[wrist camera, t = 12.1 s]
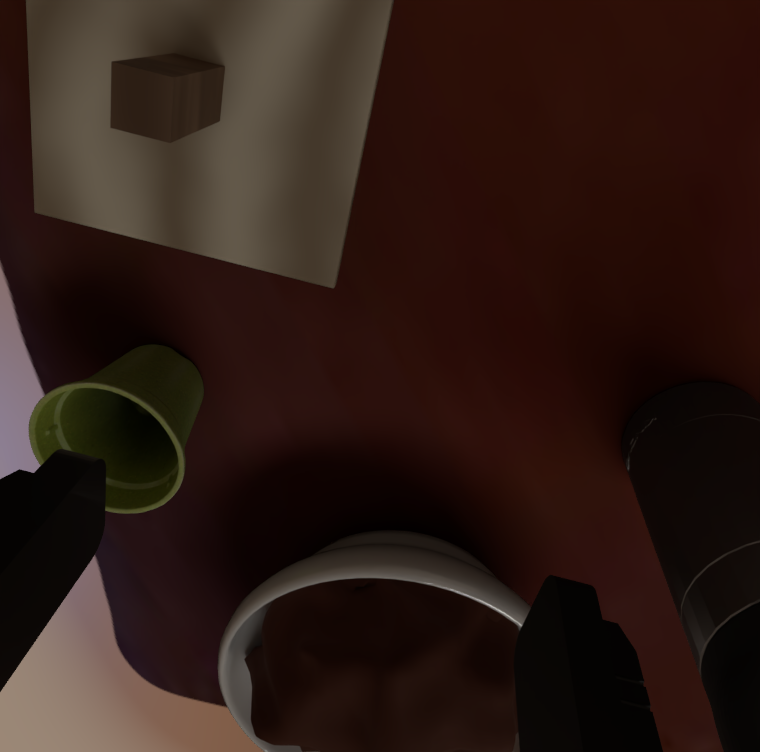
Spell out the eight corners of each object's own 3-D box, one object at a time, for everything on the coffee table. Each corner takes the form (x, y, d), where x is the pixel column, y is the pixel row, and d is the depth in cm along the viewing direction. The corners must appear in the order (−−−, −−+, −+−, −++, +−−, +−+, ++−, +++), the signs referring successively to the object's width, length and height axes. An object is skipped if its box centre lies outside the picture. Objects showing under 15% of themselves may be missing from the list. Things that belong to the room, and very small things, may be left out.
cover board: (408, -71, 27) (392, -95, 21) (336, 282, 35) (310, 337, 29) (30, -169, 27) (-92, -221, 21) (43, 208, 35) (-43, 248, 29)
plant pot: (205, 312, 44) (151, 375, 36) (244, 431, 48) (202, 509, 40) (78, 329, 45) (1, 392, 38) (127, 442, 50) (66, 519, 42)
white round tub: (533, 710, 59) (553, 909, 46) (261, 678, 61) (206, 860, 48) (581, 491, 47) (627, 675, 34) (241, 460, 49) (159, 623, 36)
